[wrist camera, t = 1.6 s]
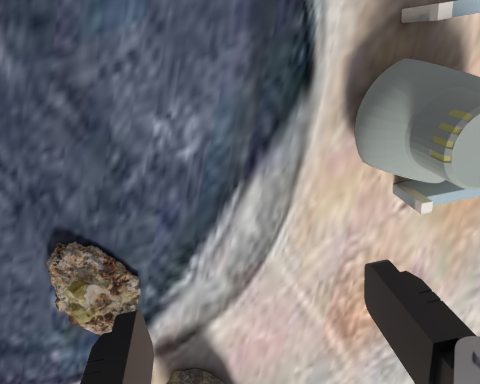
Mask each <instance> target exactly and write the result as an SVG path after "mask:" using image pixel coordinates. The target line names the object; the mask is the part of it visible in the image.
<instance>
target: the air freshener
mask: <svg viewBox="0 0 480 384" xmlns="http://www.w3.org/2000/svg"><path fill="white" fill-rule="evenodd" d="M355 140H356V146H357V149H358V153H359V155H360V157H361V159H362V161H363V162H364V163H366V164H368V165H370V166H372V167H374V168H377V169H380V170H382V171H385V172H388V173H391V174H395V175H398V176H401V177H405V178H409V179H413V180H417V181H422V182H428V183H440V182H443V181H445V180H447V181H449V182H451V183H453V184H455V185H457V186H459V187H461V188H464V189H471V190H474V189H480V77H478V76H475V75H472V74H469V73H466V72H462V71H459V70H455V69H452V68H448V67H445V66H441V65H437V64H433V63H429V62H425V61H420V60H415V59H409V58H403V59H401V60H400V61H398V62H396V63H394V64H393V65H392V66H390V67H389V68H388V69H386V70H385V71H384V72H383V73H382V74H381V75H380V76H379V77H378V78H377V79H376V80H375V81H374V83H373V84H372V85H371V87H370V88H369V89H368V91H367V92H366V94H365V96H364V98H363V100H362V102H361V105H360V107H359V110H358V113H357V118H356V122H355Z"/></svg>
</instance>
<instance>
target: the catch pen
mask: <svg viewBox="0 0 480 384" xmlns="http://www.w3.org/2000/svg"><path fill="white" fill-rule="evenodd" d="M475 13H480V0H455V1H448V2H442V3H436V4H430V5H424V6H418V7H412V8H405V9H402V17H401V23H411V22H423V21H436V20H443V19H449V18H452V17H457V16H463V15H469V14H475ZM393 193H394V194H395V195H396V196H398V197H399V198H400V199H402V200H403V201H404V202H406V203H407V204H408V205H410V206H411V207H412V208H414V209H415V210H416V211H417V212H419V213H420V214H423V213H428V212H432V206H434V205H439V204H444V203H449V202H454V201H459V200H464V199H469V198H474V197H479V196H480V189H474V190H471V189H464V188H461V187H459V186H457V185H455V184H453V183H451V182H449V181H447V180H445V181H443V182H440V183H428V182H422V181H417V180H411V181H406V182H401V183H396V184H394V188H393Z"/></svg>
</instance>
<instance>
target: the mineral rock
mask: <svg viewBox="0 0 480 384" xmlns="http://www.w3.org/2000/svg"><path fill="white" fill-rule="evenodd" d="M45 263H46V264H47V265H48V267H49V271H48V273H49V274H50V276H51V279H50V280H51V284H52V285H53V286H54V287H55V292H56V294H57V299H56V301H55V303H56V307H57V308H58V311H62V312H65V313H66V314H69V321H70V322H71V323H72V324H73V325H75V326H79V327H81V328H82V329H84V330H86V329H87V330H90V331H92V332H94V333H96V334H100V335H102V334H103V333H108V332H111V331H112V328H113V324H114V320H115V317H116V315H118V314H122V313H127V312H132V311H134V310H135V308H136V304H137V302H138V300H139V294H140V292H141V290H140V288H139V286H140V283H139V278H138V277H137V276H134V275H133V274H132V273H131V272H130V271H128V270H126V268H125V266H124V265H123V264H122V263H120V262H119V261H116V260H115V258H112V257H110V256H108V255H107V254H106V253H104V252H102V250H100V249H99V248H98V247H94V246H92V245H91V246H88V247H83V246H82V245H80V244H78V243H76V242H73V243H69V244H68V245H65V244H61V243H58V244H56V245H55V248H54V252H52V254H51V255H50V257H49V258H48V259H47V261H46V262H45Z"/></svg>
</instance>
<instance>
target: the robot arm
mask: <svg viewBox="0 0 480 384" xmlns="http://www.w3.org/2000/svg"><path fill="white" fill-rule="evenodd" d="M364 298H365V303H366V307H367V310H368V312H369V314H370V316H371V317H372V319H373V320H374V322H375V323H376V325H377V326H378V328H379V329H380V331H381V332H382V334H383V335H384V337H385V338H386V340H387V341H388V343H389V345H390V346H391V348H392V349H393V351H394V352H395V354H396V355H397V357H398V358H399V360H400V361H401V363H402V364H403V366H404V367H405V369H406V370H407V372H408V373H409V375H410V377H411V378H412V380H413V381H414V383H415V384H480V337H478V336H476V335H475V334H474V333H473V332H472V331H471V330H470V329H469V328H468V327H467V326H466V325H465V324H464V323H463V322H462V321H461V320H460V319H459V318H458V317H457V316H456V314H455V313H454V312H453V311H452V310H451V309H450V308H449V307H448V306H447V305H446V304H445V303H444V302H443V301H441V300H440V298H439V297H438V296H437V295H436V294H435V293H434V292H432V290H431V289H430V288H429V287H428V286H427V285H426V284H425V283H424V281H423V280H422V279H420V278H418V277H417V276H415V275H413V274H411V273H409V272H408V271H403V272H399V271H398V269H397V268H396V267H395V266H394V265H393V264H392V263H391V262H390V261H389V260H382V261H377V262H372V263H368V264H366V265H365V283H364ZM153 361H154V353H153V345H152V341H151V338H150V335H149V332H148V330H147V327H146V324H145V321H144V318H143V315H142V313H141V311H140V310H136V311H132V312H127V313H122V314H118V315H116V317H115V320H114V324H113V328H112V331H111V332H108V333H103V334H102V335H101V336H100V338H99V339H98V340H97V342H96V343H95V344H94V346H93V347H92V349H91V352H90V355H89V359H88V362H87V363H88V364H87V365H86V368H85V371H84V374H83V375H84V377H83V378H82V380H81V383H80V384H151V378H152V370H153Z"/></svg>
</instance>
